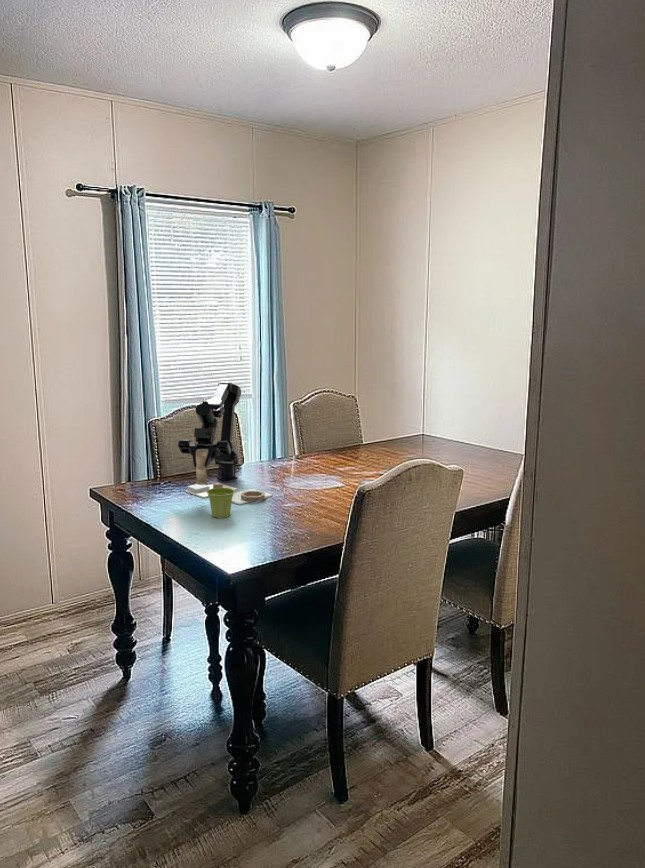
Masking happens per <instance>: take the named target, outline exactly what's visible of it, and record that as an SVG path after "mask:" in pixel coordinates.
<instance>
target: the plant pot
mask: <svg viewBox="0 0 645 868" xmlns="http://www.w3.org/2000/svg"><path fill="white" fill-rule="evenodd" d="M234 493H236V492H235V491H234V490H233V489H230V488H213V489H209V490H208V491H207V494H208V497H207V498H209V504H210V511H211V516H212V517H213V518H218V519H221V518H222V519H223V518H227V517H229V516H231V510H232V497H233V494H234Z"/></svg>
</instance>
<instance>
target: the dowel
mask: <svg viewBox="0 0 645 868" xmlns="http://www.w3.org/2000/svg"><path fill="white" fill-rule="evenodd" d="M206 458H207V450H198V451H196V467H195V469H196V470H195V471H196V472H195V473H196V484H198V485H207V484H208V483H207V482H208V480H207V479H208V478H207V467H206V468H205V461H206Z"/></svg>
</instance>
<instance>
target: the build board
mask: <svg viewBox="0 0 645 868" xmlns="http://www.w3.org/2000/svg"><path fill="white" fill-rule="evenodd" d="M272 497H273V494H271V493H268V492H266V491H261V490H258V489H254V488H249V489H246V490H241V491H237V492H234V494H233V497H232V502H231V504H235V505H239V506H242V505H245V503H246V504H249V503H253V502H259V501H263V500H265V499H266V498H272ZM241 504H242V505H241Z"/></svg>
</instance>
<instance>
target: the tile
mask: <svg viewBox="0 0 645 868" xmlns="http://www.w3.org/2000/svg"><path fill="white" fill-rule="evenodd" d="M213 488H230V489H233V490H234V491H235V490H236V491H238V490H239V489H238V488H237V487H233V486H231V485H227V484H224V483H222V482H214V483H211V484H208V485H207V484H205V485H198V484H197V483H195V484H190V485H187V489H186V490H185V493H188V494H190V493H191V495H194V496H196V497H199V498H201V499H206V498H209V497H208V494H207V491H208V490H209V489H213Z"/></svg>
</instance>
